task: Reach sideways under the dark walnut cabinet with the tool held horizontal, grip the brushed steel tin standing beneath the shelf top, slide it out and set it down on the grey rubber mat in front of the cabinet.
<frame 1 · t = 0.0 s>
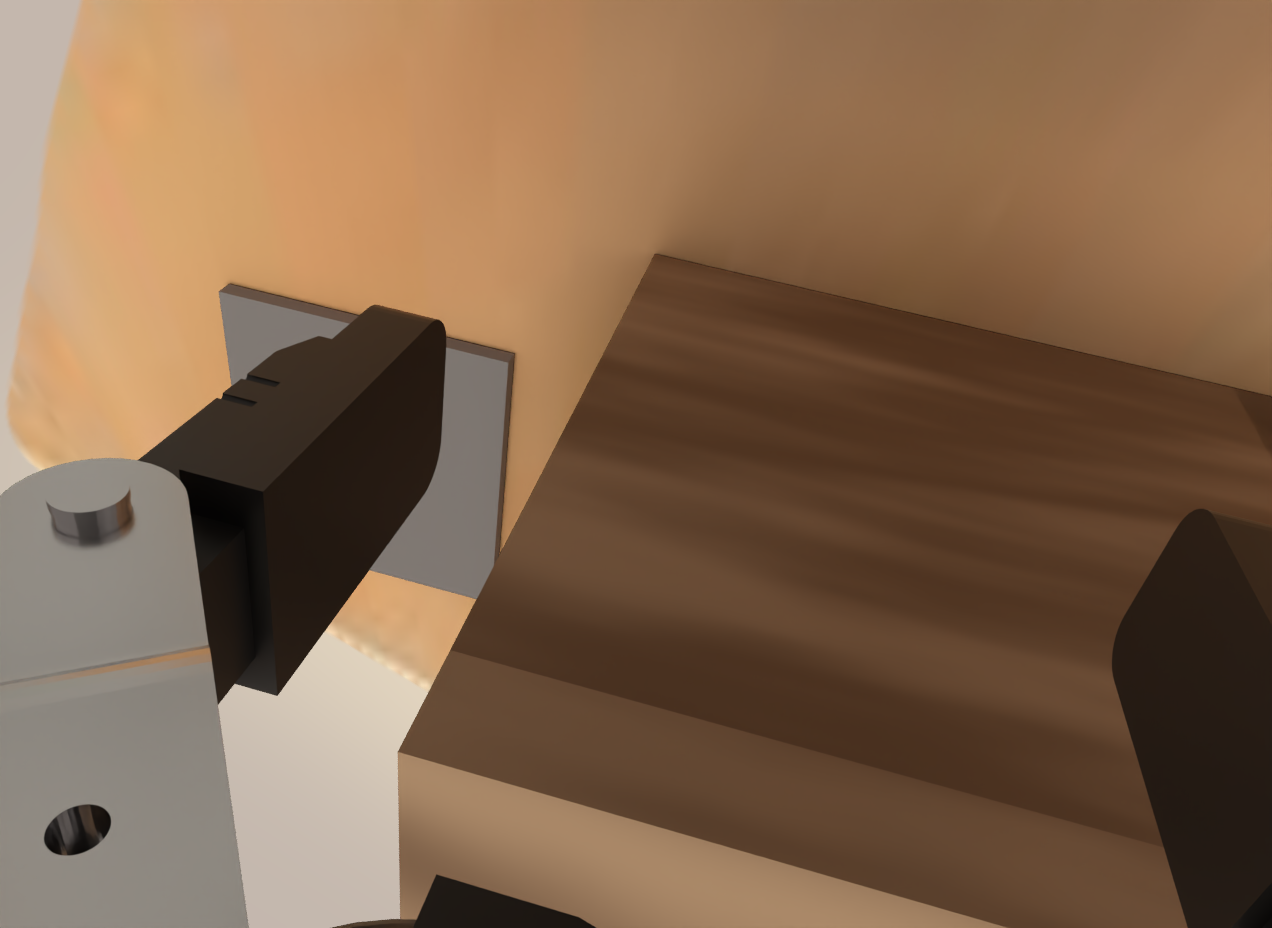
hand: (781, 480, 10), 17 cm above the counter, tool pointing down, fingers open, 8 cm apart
rubber mat: (373, 450, 35), on the counter
walnut cabinet: (857, 587, 33), on the counter
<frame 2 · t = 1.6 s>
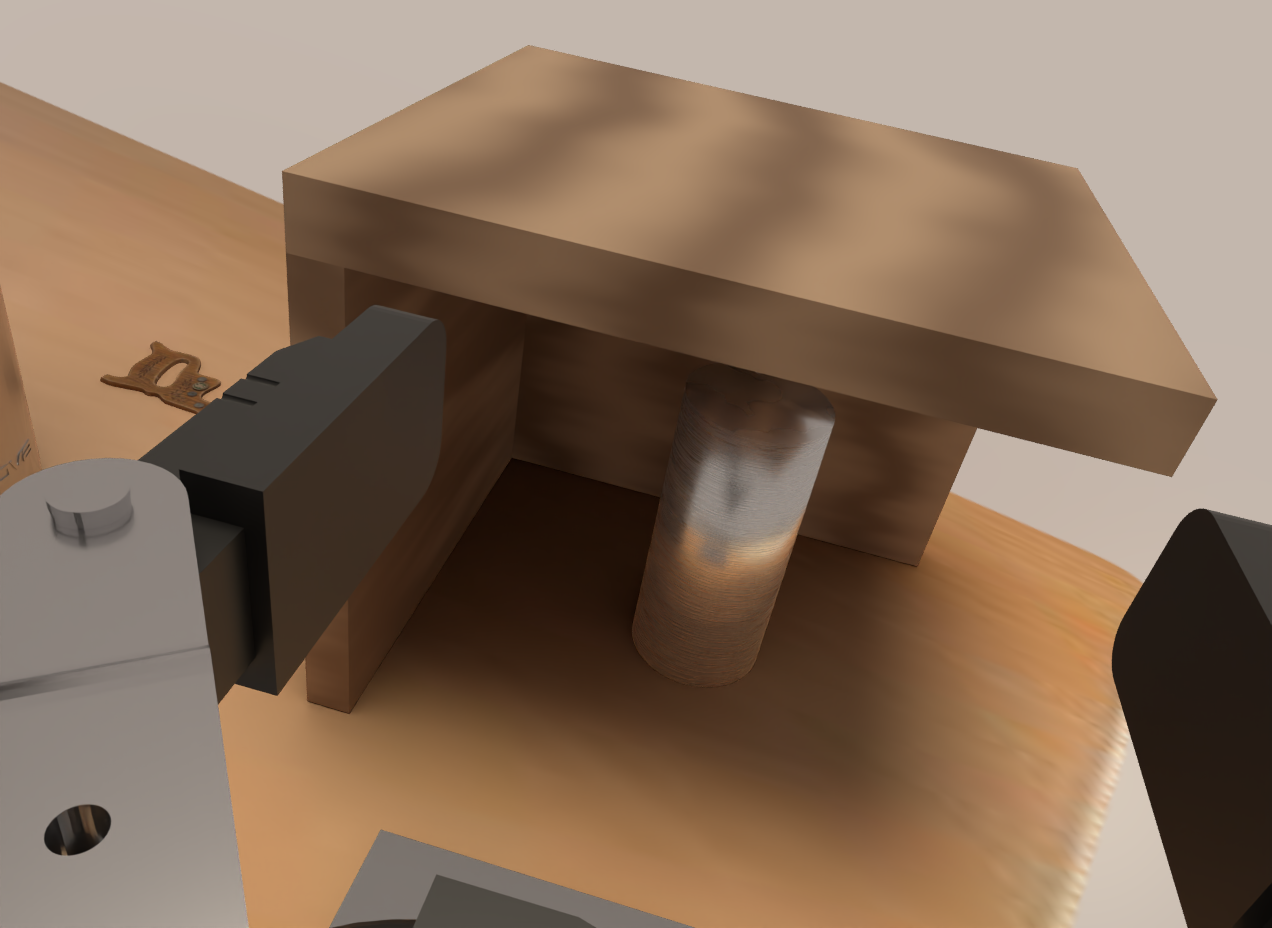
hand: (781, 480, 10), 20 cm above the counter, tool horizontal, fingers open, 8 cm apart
steel tin: (694, 638, 37), on the counter
walnut cabinet: (663, 610, 38), on the counter
hand saw: (321, 448, 45), on the counter
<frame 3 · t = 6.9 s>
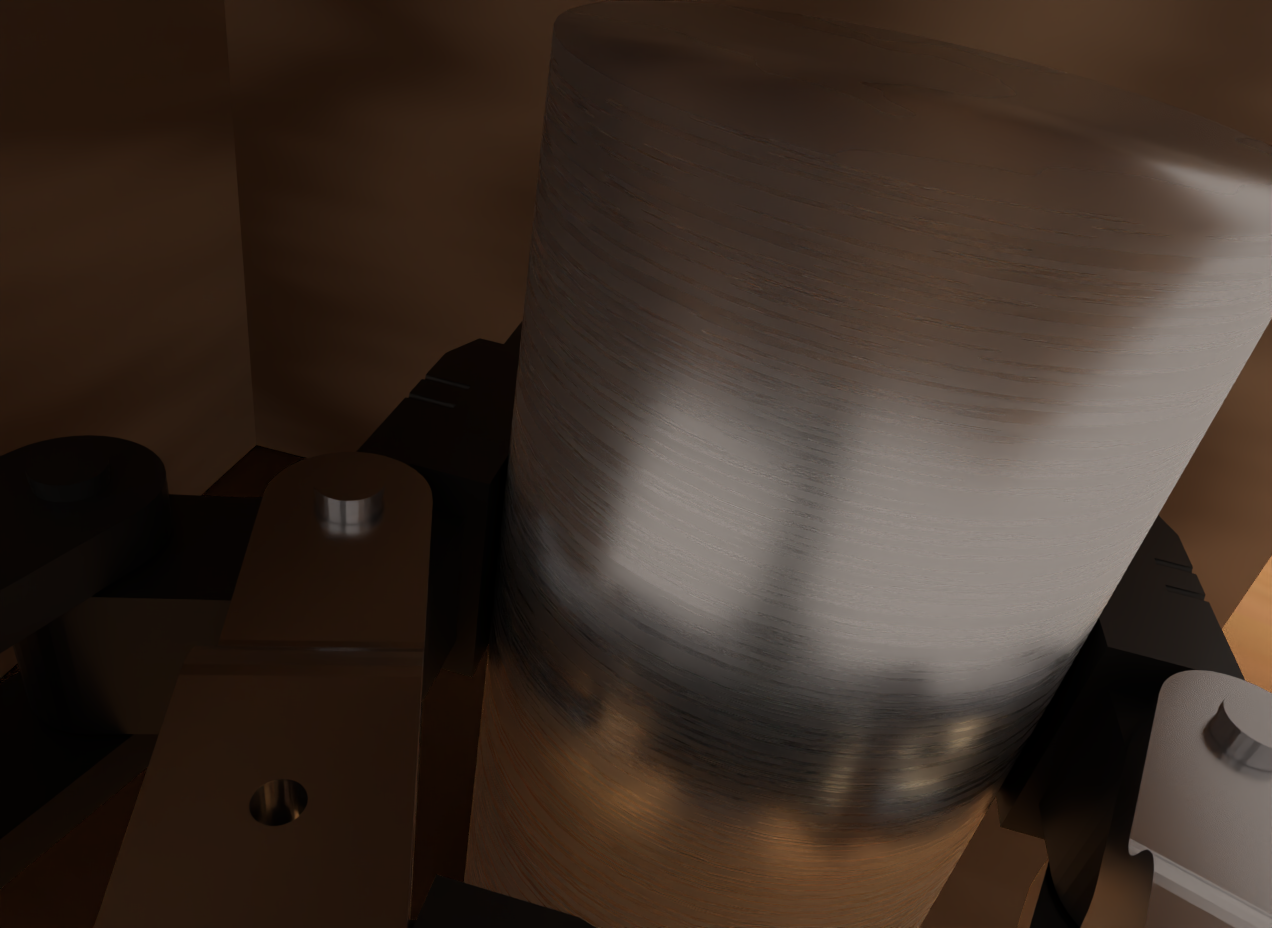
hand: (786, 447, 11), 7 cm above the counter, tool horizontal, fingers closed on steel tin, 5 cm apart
walnut cabinet: (562, 866, 13), on the counter
when the fingers open (8 cm above the counter, at t = 11.9 s): steel tin stays where it is, resting on rubber mat.
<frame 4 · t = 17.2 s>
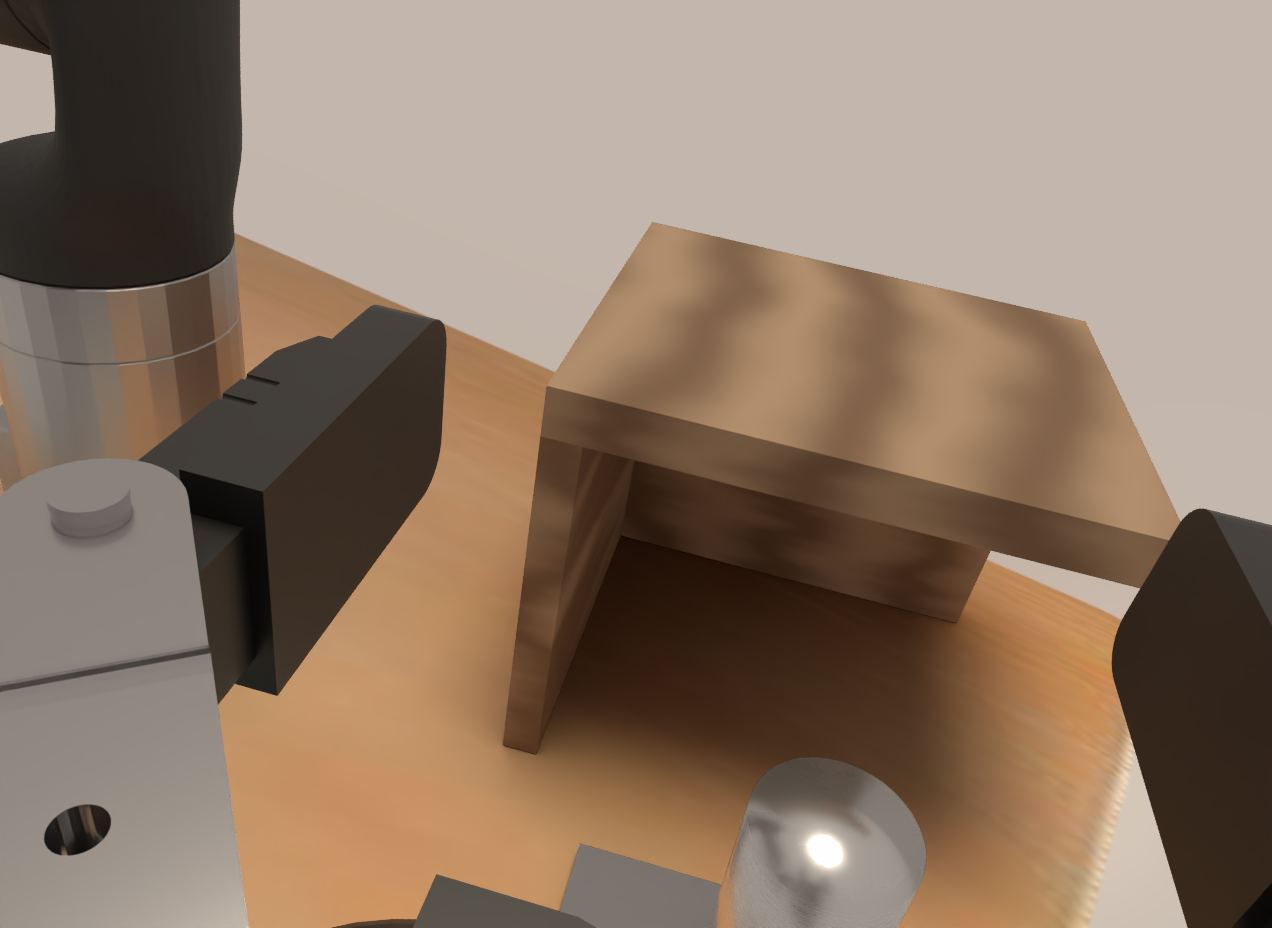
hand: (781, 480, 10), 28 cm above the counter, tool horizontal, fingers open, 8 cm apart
walnut cabinet: (759, 666, 48), on the counter
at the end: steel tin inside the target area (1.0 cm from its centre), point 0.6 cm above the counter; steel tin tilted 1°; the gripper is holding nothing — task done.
